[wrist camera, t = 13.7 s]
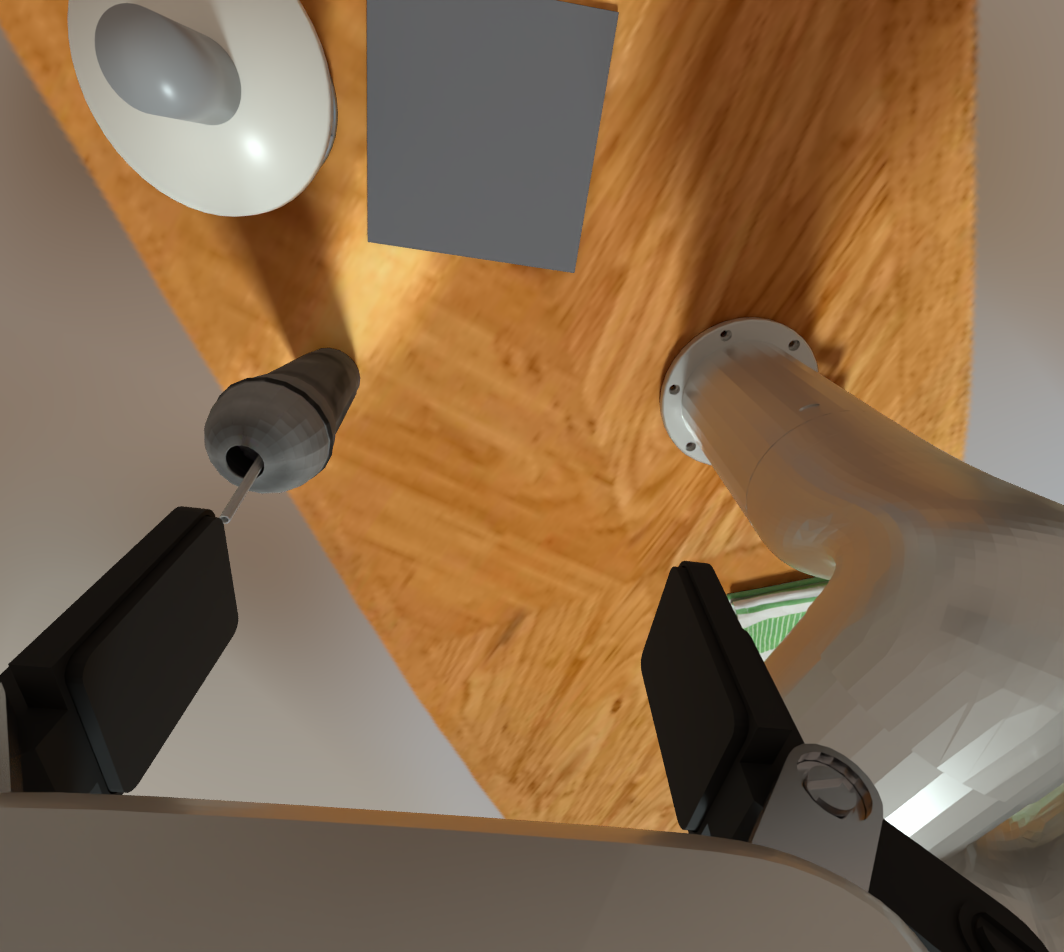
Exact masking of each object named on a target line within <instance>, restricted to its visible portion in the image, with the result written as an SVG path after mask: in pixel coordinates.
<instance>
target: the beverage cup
mask: <svg viewBox="0 0 1064 952" xmlns="http://www.w3.org/2000/svg"><path fill="white" fill-rule="evenodd" d="M359 384H360V375H359V370H358V368H357V366H356V364H355V363H354V361H353V360H352V359H351V358H350V357H349V356H348V355H346V354H345V353H343V352H341V351H340V350H336V349H332V348H321V349H318V350H316V351H313V352H310V353H308V354H306V355H303V356H301V357H299V358H297V359H295V360H293V361H292V362H290V363H288V364H286V365H284V366H282V367H280V368H278V369H276V370H274V371H272V372H270V373H268V374H264V375H261V376H257V377H254V378H246V379H244V380H241V381H239V382H236V383H234V384H231V385H230V386H229V387H228V388H227V389H226V390H225V391H224V392H223V393H222V394H221V395H220V396H219V398H218V400H217V402H216V403H215V404H214V406H213V407H212V409H211V411H210V414H209V416H208V418H207V421H206V424H205V428H204V431H205V448H206V450H207V453H208V456H209V459H210V461H211V463H212V464H213V465H214V467H215V468H216V469H217V471H218V472H219V473H220V475H222V476H223V477H224V478H225V479H227V480H228V481H229V482H230V483H232V484H234V485H236V486H238V489H237V490H236V492H235V493H234V495H233V496H232V498H231V500H230V501H229V503H228V504H227V506H226V508H225V509H224V511H223V512H222V514H221V515H220V517H219V518H221V519H222V521H223V523H225V524H227V523H229V522H230V521H231V519H232V517H233V516H234V514H235V512H236V511H237V509H238V507H239V506H240V504H241V502H242V501H243V499H244V497H245V496H246V494H247V492H248V491H252V492H257V493H282V492H285V491H288V490H290V489H293V488H296V487H299V486H301V485H303V484H304V483H306V482H307V481H308V480H310V479H312V478H313V477H315V476H316V475H317V474H318V473H319V472H321V471H322V470H323V469H324V468H325V467H326V465H327V463H328V461H329V459H330V457H331V455H332V449H333V445H334V441H335V434H336V432H337V430H338V429H339V427H340V425H341V423H342V421H343V419H344V417H345V415H346V413H347V411H348V409H349V407H350V405H351V403H352V401H353V399H354V397H355V395H356V392H357V389H358V388H359Z"/></svg>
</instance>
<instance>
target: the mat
mask: <svg viewBox="0 0 1064 952" xmlns="http://www.w3.org/2000/svg"><path fill="white" fill-rule="evenodd" d="M618 14H619V12H614V11H609V10H604V9H598V8H593V7H588V6H583V5H578V4H572V3H567V2H562V1H557V0H367V159H368V242H372V243H379V244H385V245H392V246H399V247H405V248H412V249H419V250H425V251H432V252H439V253H445V254H452V255H458V256H465V257H472V258H478V259H485V260H492V261H498V262H505V263H512V264H518V265H525V266H531V267H538V268H545V269H551V270H558V271H565V272H571V273H574V272H575V266H576V260H577V254H578V248H579V242H580V237H581V231H582V225H583V219H584V213H585V207H586V201H587V196H588V190H589V184H590V178H591V172H592V166H593V160H594V155H595V149H596V143H597V137H598V131H599V125H600V119H601V114H602V108H603V102H604V96H605V90H606V84H607V78H608V73H609V67H610V61H611V55H612V49H613V43H614V37H615V32H616V26H617V20H618Z"/></svg>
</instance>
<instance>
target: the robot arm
mask: <svg viewBox="0 0 1064 952" xmlns="http://www.w3.org/2000/svg"><path fill="white" fill-rule="evenodd" d="M724 330H725V334H724V335H723V336H720V334H721V333H722V332H723V331H724ZM791 341H792V343H791V344H790V345H789V343H790V342H791ZM672 385H675V386H674V388H672V389H670V387H671V386H672ZM660 410H661V417H662V420H663V424H664V427H665V429H666V431H667V433H668V434H669V436H670V438H671V439H672V441H673V442H674V443H675V445H676V446H677V447H678V448H679V449H680V450H681V451H682V452H683V453H684V454H686V455H687V456H689V457H691V458H693V459H695V460H696V461H699V462H702V463H705V464H708V465H712V466H713V468H714V469H715V471H716V472H717V474H718V475H719V477H720V478H721V480H722V481H723V483H724V484H725V486H726V487H727V489H728V490H729V492H730V493H731V495H732V496H733V498H734V499H735V501H736V502H737V504H738V505H739V507H740V508H741V510H742V511H743V513H744V514H745V516H746V517H747V519H748V520H749V522H750V523H751V525H752V526H753V528H754V529H755V531H756V532H757V534H758V535H759V537H760V538H761V540H762V541H763V543H764V544H765V545H766V546H767V547H768V549H769V550H770V551H771V552H772V553H773V554H774V555H775V556H777V557H778V558H779V559H780V560H781V561H783V562H784V563H786V564H787V565H789V566H791V567H793V568H795V569H796V570H798V571H801V572H803V573H806V574H808V575H812V576H815V577H819V578H822V579H826V580H830V581H829V582H828V584H827V585H826V587H825V588H824V589H823V591H822V592H821V593H820V594H819V596H818V597H817V598H816V599H815V600H814V601H813V603H812V604H811V605H810V606H809V607H808V609H807V611H806V613H805V614H804V616H803V617H802V618H801V619H800V620H799V621H798V623H797V624H796V625H795V626H794V627H793V628H792V630H791V631H790V632H789V633H788V634H787V635H786V637H785V638H784V639H783V640H782V641H781V642H780V644H779V645H778V646H777V647H776V648H775V649H774V651H773V652H772V653H771V654H770V655H769V656H768V658H767V659H766V660H765V661H763V659H762V657H761V655H760V653H759V651H758V649H757V647H756V645H755V643H754V641H753V639H752V637H751V636H750V634H749V633H748V632H747V631H746V630H744V629H743V628H742V626H741V624H740V622H739V620H738V618H737V616H736V614H735V612H734V610H733V608H732V606H731V604H730V602H729V600H728V598H727V596H726V594H725V592H724V590H723V588H722V586H721V584H720V582H719V579H718V577H717V575H716V573H715V571H714V569H713V567H712V566H711V565H710V564H708V563H699V562H690V561H682V562H681V563H680V565H679V567H672V569H671V570H670V573H669V576H668V579H667V582H666V585H665V588H664V591H663V594H662V597H661V600H660V603H659V606H658V608H657V611H656V614H655V617H654V620H653V623H652V626H651V629H650V632H649V635H648V638H647V641H646V644H645V647H644V650H643V653H642V658H641V671H642V675H643V679H644V684H645V688H646V692H647V696H648V700H649V704H650V708H651V713H652V717H653V721H654V725H655V729H656V733H657V737H658V742H659V746H660V750H661V754H662V758H663V762H664V766H665V770H666V775H667V779H668V783H669V787H670V791H671V795H672V799H673V804H674V808H675V812H676V816H677V820H678V823H679V825H680V827H681V828H682V829H683V830H688V832H689V834H687V833H676V832H665V831H654V830H643V829H632V828H621V827H609V826H595V825H581V824H567V823H553V822H539V821H526V820H512V819H497V818H484V817H470V816H455V815H439V814H425V813H410V812H395V811H380V810H364V809H349V808H334V807H319V806H304V805H287V804H286V805H285V804H271V803H254V802H237V801H221V800H205V799H188V798H172V797H154V796H131V795H122V794H123V793H124V792H125V793H128V792H130V791H132V790H133V789H134V788H135V787H136V786H137V784H138V783H139V782H140V780H141V779H142V777H143V776H144V774H145V773H146V771H147V769H148V768H149V766H150V765H151V763H152V762H153V760H154V759H155V757H156V755H157V754H158V752H159V751H160V749H161V748H162V746H163V745H164V743H165V741H166V740H167V738H168V737H169V735H170V734H171V732H172V730H173V729H174V727H175V726H176V724H177V723H178V721H179V720H180V718H181V716H182V715H183V713H184V712H185V710H186V708H187V707H188V705H189V704H190V702H191V701H192V699H193V698H194V696H195V695H196V693H197V691H198V690H199V688H200V687H201V685H202V684H203V682H204V681H205V679H206V677H207V676H208V674H209V673H210V671H211V670H212V668H213V667H214V665H215V663H216V662H217V660H218V659H219V657H220V656H221V654H222V652H223V651H224V649H225V648H226V646H227V644H228V643H229V642H230V640H231V638H232V637H233V635H234V633H235V631H236V628H237V624H238V612H237V605H236V600H235V593H234V587H233V581H232V574H231V568H230V562H229V555H228V549H227V543H226V536H225V531H224V524H223V521H222V519H221V518H217V517H215V514H214V513H213V511H212V510H209V509H201V508H192V507H182V506H181V507H177V508H176V509H174V510H173V511H172V512H171V513H170V514H169V515H168V516H166V517H165V518H164V519H163V520H162V521H161V522H160V523H159V524H158V525H157V526H156V527H155V528H154V529H153V530H152V531H150V532H149V533H148V534H147V535H146V536H145V537H144V538H143V539H142V540H141V541H140V542H139V543H138V544H136V545H135V546H134V547H133V548H132V549H131V550H130V551H129V552H128V553H127V554H126V555H125V556H124V557H123V558H122V559H120V560H119V561H118V562H117V563H116V564H115V565H114V566H113V567H112V568H111V569H110V570H109V571H108V572H107V573H105V574H104V575H103V576H102V577H101V578H100V579H99V580H98V581H97V582H96V583H95V584H94V585H93V586H92V587H90V588H89V589H88V590H87V591H86V592H85V593H84V594H83V595H82V596H81V597H80V598H79V599H78V600H77V601H75V602H74V603H73V604H72V605H71V606H70V607H69V608H68V609H67V610H66V611H65V612H64V613H63V614H62V615H61V616H60V617H58V618H57V619H56V620H55V621H54V622H53V623H52V624H51V625H50V626H49V627H48V628H47V629H46V630H44V631H43V632H42V633H41V634H40V635H39V636H38V637H37V638H36V639H35V640H34V641H33V642H32V643H31V644H29V646H28V647H26V648H25V649H24V650H23V651H22V652H21V653H20V654H19V655H18V656H17V657H16V658H15V659H13V661H11V662H10V663H9V664H8V665H9V667H8V668H7V669H6V670H5V671H4V672H3V673H2V674H1V675H0V952H1064V505H1062V504H1059V503H1057V502H1055V501H1052V500H1050V499H1047V498H1045V497H1042V496H1040V495H1038V494H1035V493H1033V492H1030V491H1028V490H1025V489H1023V488H1021V487H1018V486H1016V485H1013V484H1011V483H1008V482H1006V481H1004V480H1001V479H999V478H996V477H994V476H992V475H990V474H988V473H986V472H983V471H981V470H979V469H977V468H975V467H973V466H970V465H969V464H967V463H964V462H962V461H960V460H958V459H957V458H955V457H953V456H951V455H949V454H947V453H946V452H944V451H942V450H940V449H938V448H937V447H935V446H933V445H931V444H930V443H928V442H926V441H925V440H923V439H921V438H920V437H918V436H917V435H915V434H913V433H912V432H910V431H909V430H907V429H905V428H904V427H902V426H901V425H899V424H898V423H896V422H894V421H893V420H891V419H889V418H888V417H886V416H885V415H883V414H881V413H880V412H878V411H877V410H875V409H874V408H872V407H871V406H869V405H868V404H866V403H864V402H863V401H861V400H860V399H858V398H857V397H855V396H854V395H852V394H850V393H849V392H847V391H846V390H844V389H843V388H841V387H840V386H838V385H836V384H835V383H833V382H832V381H830V380H829V379H827V378H826V377H824V376H822V375H821V374H819V373H818V367H817V362H816V359H815V357H814V354H813V352H812V350H811V348H810V347H809V345H808V344H807V343H806V341H805V340H804V339H803V338H802V337H801V336H800V335H799V334H797V333H796V332H795V331H794V330H792V329H790V328H789V327H787V326H785V325H783V324H781V323H778V322H776V321H773V320H770V319H764V318H758V317H748V318H737V319H733V320H729V321H725V322H722V323H720V324H717V325H715V326H713V327H710V328H708V329H707V330H705V331H704V332H702V333H701V334H699V335H698V336H696V337H695V338H694V339H692V340H691V341H690V342H689V343H688V344H687V345H686V346H685V347H684V348H683V349H682V350H681V351H680V353H679V354H678V355H677V357H676V358H675V359H674V360H673V362H672V364H671V366H670V368H669V369H668V371H667V373H666V376H665V379H664V382H663V385H662V388H661V396H660ZM689 442H691V443H690V444H688V443H689ZM687 444H688V445H687Z"/></svg>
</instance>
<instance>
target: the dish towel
mask: <svg viewBox="0 0 1064 952" xmlns="http://www.w3.org/2000/svg"><path fill="white" fill-rule="evenodd" d="M829 581H830V580H826V579H822V578H819V577H814V578H809V579H804V580H799V581H794V582H789V583H784V584H779V585H774V586H769V587H764V588H758V589H753V590H748V591H742V592H736V593H731V594H727V598H728V600H729V602H730V604H731V606H732V608H733V610H734V612H735V614H736V616H737V618H738V620H739V622H740V624H741V626H742V628H743V629H744V630H746V631H747V632H748V633H749V634H750V636H751V637H752V639H753V641H754V643H755V645H756V647H757V649H758V651H759V653H760V655H761V657H762V659H763V661H765V660H766V659H767V658H768V656H769V655H770V654H771V653H772V652H773V651H774V649H775V648H776V647H777V646H778V645H779V644H780V642H781V641H782V640H783V639H784V638H785V637H786V635H787V634H788V633H789V632H790V631H791V630H792V628H793V627H794V626H795V625H796V624H797V623H798V621H799V620H800V619H801V618H802V617H803V616H804V614H805V613H806V611H807V609H808V607H809V606H810V605H811V604H812V603H813V601H814V600H815V599H816V598H817V597H818V596H819V594H820V593H821V592H822V591H823V589H824V588H825V587H826V585H827V584H828V582H829Z"/></svg>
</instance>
